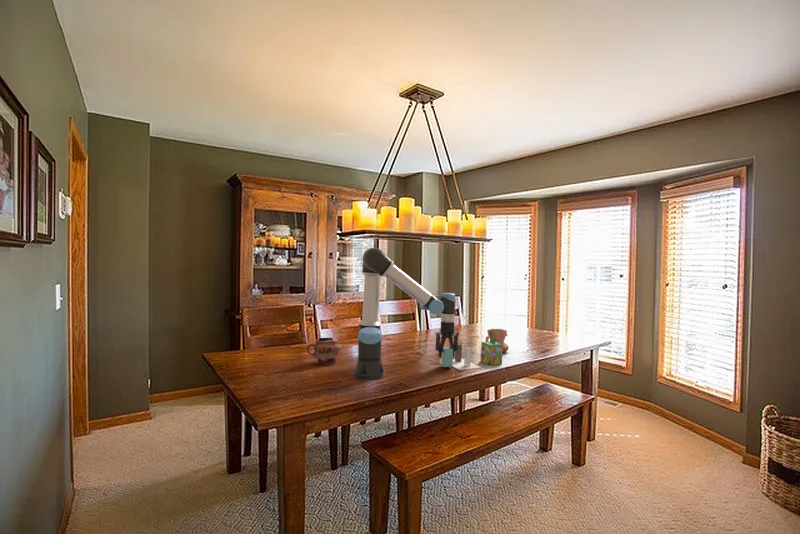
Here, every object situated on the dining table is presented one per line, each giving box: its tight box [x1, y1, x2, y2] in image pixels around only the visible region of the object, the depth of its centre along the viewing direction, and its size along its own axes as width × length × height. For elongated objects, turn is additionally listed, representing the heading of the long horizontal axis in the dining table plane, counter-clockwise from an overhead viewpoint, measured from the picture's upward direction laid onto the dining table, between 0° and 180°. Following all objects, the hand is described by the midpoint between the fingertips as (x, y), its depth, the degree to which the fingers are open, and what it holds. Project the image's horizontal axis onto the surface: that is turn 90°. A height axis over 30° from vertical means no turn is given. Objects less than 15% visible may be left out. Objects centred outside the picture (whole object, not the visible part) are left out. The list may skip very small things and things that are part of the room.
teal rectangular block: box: [439, 346, 454, 368], centre depth 227 cm, size 5×5×10 cm
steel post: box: [463, 346, 472, 367], centre depth 229 cm, size 3×3×10 cm
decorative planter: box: [305, 337, 343, 366], centre depth 229 cm, size 20×12×14 cm, turn 119°
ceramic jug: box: [485, 328, 509, 354], centre depth 267 cm, size 18×14×14 cm
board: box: [452, 357, 482, 371], centre depth 234 cm, size 14×20×1 cm
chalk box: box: [480, 337, 503, 366], centre depth 239 cm, size 9×9×15 cm
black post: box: [454, 343, 463, 362], centre depth 239 cm, size 3×3×10 cm
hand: (445, 363), depth 227 cm, fingers closed on teal rectangular block, 5 cm apart
